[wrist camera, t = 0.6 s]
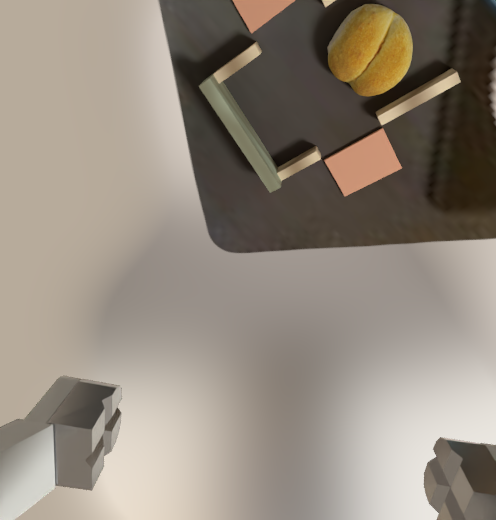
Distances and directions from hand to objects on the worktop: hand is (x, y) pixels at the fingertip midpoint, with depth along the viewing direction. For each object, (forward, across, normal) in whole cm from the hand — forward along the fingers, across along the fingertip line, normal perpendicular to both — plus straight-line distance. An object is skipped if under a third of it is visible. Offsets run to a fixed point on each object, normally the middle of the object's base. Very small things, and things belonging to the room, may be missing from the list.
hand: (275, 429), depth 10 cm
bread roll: (+43, -8, -15) cm, 47 cm away
